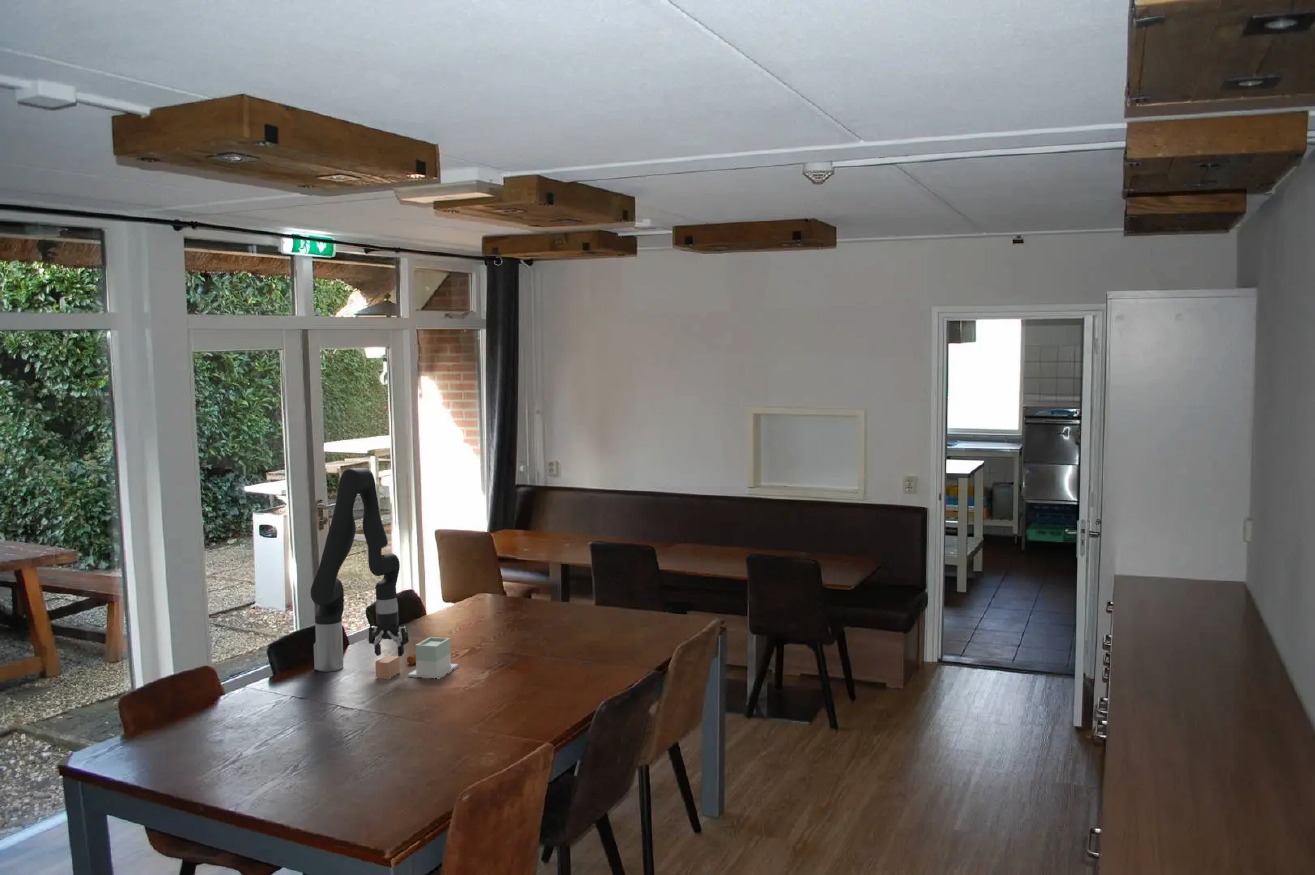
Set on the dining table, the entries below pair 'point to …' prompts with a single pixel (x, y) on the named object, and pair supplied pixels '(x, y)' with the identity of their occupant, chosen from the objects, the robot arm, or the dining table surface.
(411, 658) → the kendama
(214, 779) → the dining table surface
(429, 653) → the mint open-top box
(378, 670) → the brick
